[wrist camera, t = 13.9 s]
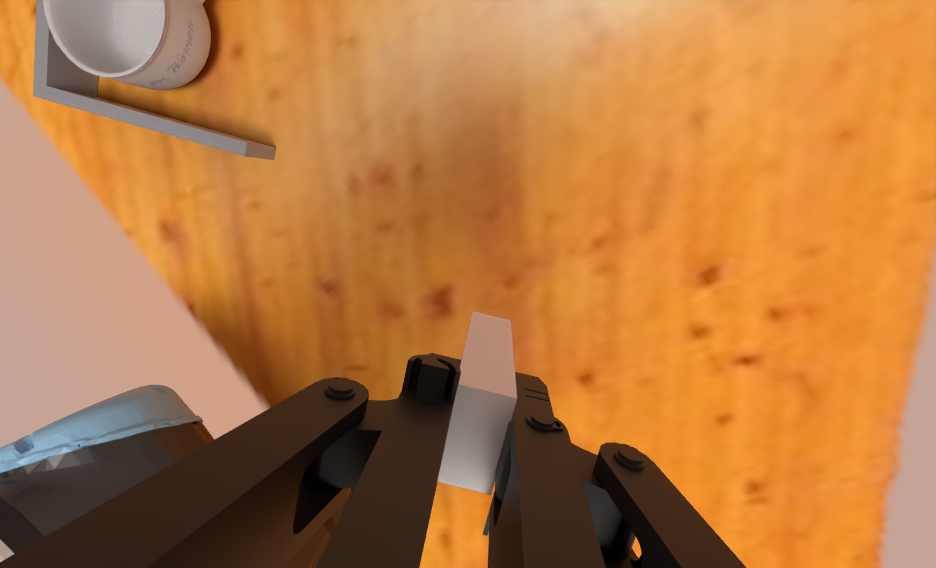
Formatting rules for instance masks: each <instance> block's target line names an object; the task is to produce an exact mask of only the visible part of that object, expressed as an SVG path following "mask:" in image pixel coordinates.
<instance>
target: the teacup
mask: <svg viewBox="0 0 936 568" xmlns="http://www.w3.org/2000/svg"><path fill="white" fill-rule="evenodd" d="M204 1H205V0H43V6H44V12H45V16H46V19H47V22H48V26H49V29H50V31H51V33H52V35H53V38H54V40H55V42H56V44H57V45H58V46H59V47H60V49H61V50H62V51H63V53H64V54H65V55H66V56H67V57H68V58H69V59H70V60H71V61H72V62H73V63H74V64H75V65H77V66H78V67H79V68H81V69H83V70H84V71H86V72H89V73H91V74H93V75H96V76H99V77H103V78H111V79H114V80H117V81H121V82H124V83H128V84H132V85H135V86H139V87H144V88H149V89H156V90H167V89H174V88H178V87H180V86H183V85H185V84H187V83H188V82H190V81H191V80H192V79H194V78H195V77H196V76H197V75H198V74H199V72H200V71H201V70H202V68H203V67H204V65H205V63H206V60H207V58H208V55H209V51H210V45H211V31H210V25H209V20H208V17H207V14H206V11H205V9H204V7H203V3H204Z"/></svg>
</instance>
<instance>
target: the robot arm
mask: <svg viewBox="0 0 936 568" xmlns="http://www.w3.org/2000/svg"><path fill="white" fill-rule="evenodd" d="M368 397H369V394H368V390H367V389H366V388H365V387H364V385H362V384H360V383H358V382H356V381H353V380H349V379H348V378H341V377H335V378H329V379H323V380H320V381H318V382H315V383H314V384H312V385H310V386H308V387H307V388H305V389H303V390H301V391H300V392H298V393H296V394H294V395H293V396H291V397H289V398H287V399H286V400H284V401H282V402H280V403H278V404H277V405H275V406H273V407H271V408H270V409H268V410H266V411H264V412H263V413H261V414H259V415H257V416H256V417H254V418H252V419H251V420H249V421H247V422H245V423H243V424H242V425H240V426H238V427H236V428H235V429H233V430H231V431H229V432H228V433H226V434H224V435H222V436H221V437H219V438H217V439H215V440H214V439H213V437H212V436H211V434H210V433H209V432H208V430H207V429H206V428H205V426H204V425H203V424H202V422H203V420H202V419H201V418H200V417H199V416H196V415H195V414H194V413H193V412H192V411H191V410H190V409H189V408H188V406H187V405H186V404H185V403H184V402H183V400H182V399H181V398H180V397H179V396H178V394H176V392H175V391H174V390H172V389H170V388H168V387H166V386H162V385H148V386H143V387H139V388H136V389H133V390H130V391H127V392H125V393H122V394H119V395H117V396H114V397H112V398H109V399H107V400H104V401H102V402H99V403H97V404H94V405H92V406H90V407H87V408H85V409H82V410H80V411H78V412H76V413H73V414H71V415H69V416H66V417H64V418H62V419H60V420H58V421H55V422H53V423H51V424H49V425H47V426H45V427H43V428H41V429H39V430H36V431H35V432H34V433H33V434H31V435H28V436H25V437H23V438H21V439H19V440H17V441H15V442H13V443H10V444H8V445H6V446H3V447H1V448H0V568H419V566H420V562H421V557H422V552H423V547H424V543H425V538H426V533H427V528H428V524H429V519H430V514H431V509H432V505H433V500H434V495H435V490H436V486H437V482H441V483H445V484H449V485H453V486H457V487H461V488H465V489H469V490H473V491H477V492H481V493H485V494H489V495H491V492H492V489H493V485H494V481H495V492H494V495H493V499H492V503H491V506H490V510H489V513H488V517H487V521H486V524H485V528H484V532H483V535H488V532H489V551H488V568H746V567H745V565H744V564H743V563H742V562H741V561H740V560H739V559H738V558H737V556H736V555H735V554H734V553H733V552H732V551H731V550H730V548H729V547H728V546H727V545H726V544H725V543H724V542H723V540H722V539H721V538H720V537H719V536H718V535H717V534H716V533H715V531H714V530H713V529H712V528H711V527H710V526H709V525H708V523H707V522H706V521H705V520H704V519H703V518H702V517H701V515H700V514H699V513H698V512H697V511H696V510H695V509H694V508H693V506H692V505H691V504H690V503H689V502H688V501H687V500H686V498H685V497H684V496H683V495H682V494H681V493H680V492H679V490H678V489H677V488H676V487H675V486H674V485H673V484H672V483H671V481H670V480H669V479H668V478H667V477H666V476H665V475H664V473H663V472H662V471H661V470H660V469H659V468H658V467H657V465H656V464H655V463H654V462H653V461H652V460H651V459H649V458H648V457H647V456H646V455H644V454H643V453H641V452H639V451H638V450H637V449H636V448H634V447H630V446H629V445H626V444H619V443H605V444H603V445H601V447H600V450H599V453H598V455H596V454H593V453H591V452H589V451H586V450H584V449H582V448H580V447H578V446H576V445H574V444H572V443H571V441H570V437H569V434H568V430H567V429H566V427H565V425H564V424H563V423H562V422H561V421H559V420H558V419H557V418H555V417H554V415H553V411H552V407H551V403H550V398H549V396H548V390H547V386H546V385H545V384H544V383H543V382H542V381H541V380H540V379H539V378H538V377H534V376H530V375H526V374H522V373H518V372H515V366H514V354H513V343H512V331H511V320H508V319H503V318H499V317H495V316H491V315H487V314H482V313H478V312H474V311H473V312H472V316H471V321H470V325H469V329H468V333H467V338H466V342H465V346H464V350H463V354H462V359H461V360H458V359H454V358H450V357H446V356H442V355H438V354H434V353H430V354H428V355H416V356H412V357H411V358H410V359H409V360H408V364H407V368H406V373H405V378H404V383H403V387H402V391H401V393H400V395H399V397H398V398H397V399H394V400H387V401H375V400H368ZM635 537H637V539H638V542H639V544H640V547H641V551H642V554H641V556H640V558H638V557H637V556H636V554H635V552H634V551H633V549H632V546H633V543H634V540H635Z"/></svg>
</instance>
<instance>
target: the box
mask: <svg viewBox="0 0 936 568" xmlns="http://www.w3.org/2000/svg"><path fill="white" fill-rule="evenodd" d="M97 90H98V76H96V75H93V74H91V73H89V72H86V71H84V70H83V69H81V68H79V67H78V66H77V65H75V64H74V63H73V62H72V61H71V60H70V59H69V58H68V57H67V56H66V55H65V54H64V53H63V51H62V50H61V49H60V47H59V46H58V45H57V44H56V42H55V40H54V38H53V35H52V33H51V31H50V29H49V26H48V22H47V19H46V16H45V12H44V6H43V0H37V7H36V34H35V60H34V86H33V96H34V97H38V98H42V99H45V100H49V101H52V102H56V103H59V104H63V105H66V106H70V107H73V108H77V109H80V110H84V111H87V112H91V113H94V114H98V115H101V116H105V117H109V118H112V119H116V120H119V121H123V122H126V123H130V124H133V125H137V126H140V127H144V128H147V129H151V130H154V131H158V132H161V133H165V134H168V135H172V136H176V137H179V138H183V139H186V140H190V141H193V142H197V143H200V144H204V145H207V146H211V147H214V148H218V149H221V150H225V151H228V152H232V153H235V154H239V155H243V156H248V157H256V158H264V159H273V160H274V155H275V149H276V147H272V146H269V145H265V144H262V143H258V142H254V141H251V140H247V139H244V138H240V137H237V136H233V135H230V134H226V133H223V132H219V131H216V130H212V129H208V128H205V127H201V126H198V125H194V124H191V123H187V122H184V121H180V120H177V119H173V118H170V117H166V116H162V115H159V114H155V113H152V112H148V111H145V110H141V109H138V108H134V107H131V106H127V105H123V104H120V103H116V102H113V101H109V100H106V99H102V98H99V97H97Z"/></svg>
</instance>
